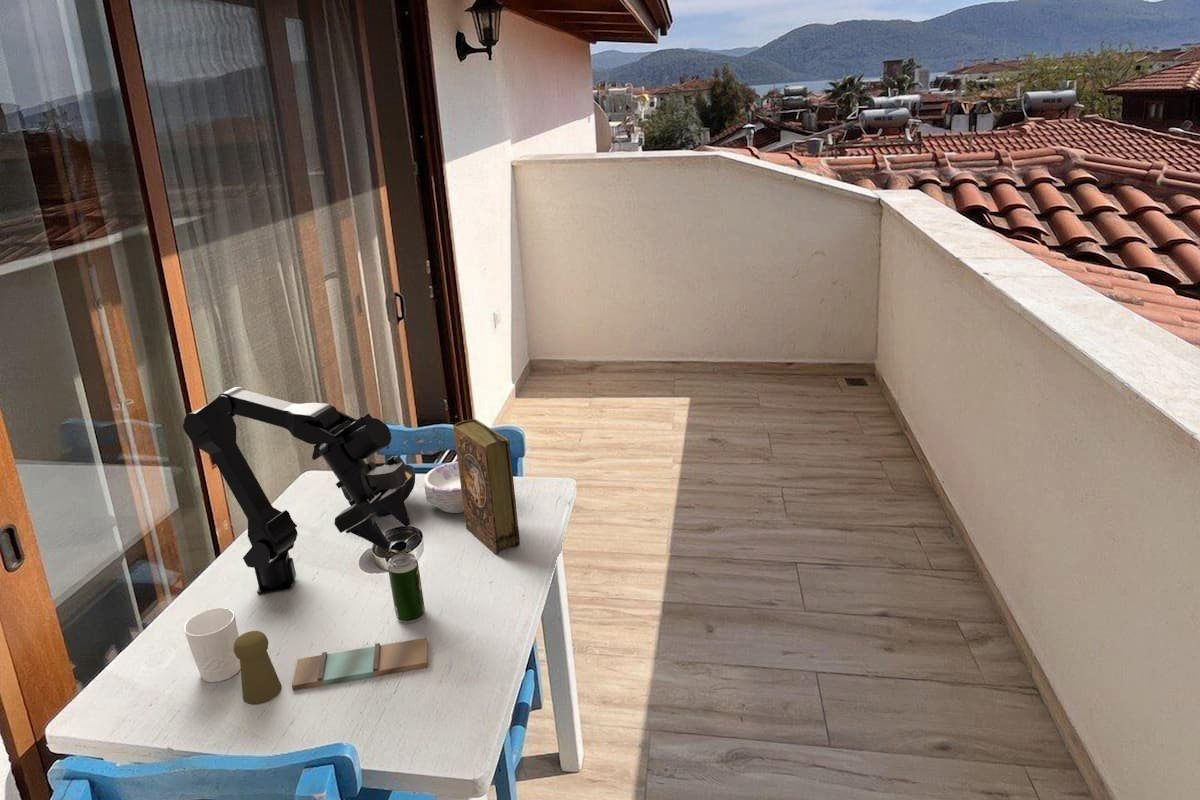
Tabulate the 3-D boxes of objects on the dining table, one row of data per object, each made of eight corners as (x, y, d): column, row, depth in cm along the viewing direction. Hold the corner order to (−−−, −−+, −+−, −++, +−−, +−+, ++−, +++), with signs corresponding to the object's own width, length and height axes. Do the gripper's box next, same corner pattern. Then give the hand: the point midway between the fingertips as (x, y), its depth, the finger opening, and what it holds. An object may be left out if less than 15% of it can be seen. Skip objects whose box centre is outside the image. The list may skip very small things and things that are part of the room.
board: (293, 690, 135) (291, 683, 135) (298, 663, 142) (297, 656, 141) (427, 667, 139) (426, 659, 138) (427, 642, 145) (426, 635, 145)
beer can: (402, 628, 150) (393, 571, 146) (392, 614, 154) (382, 559, 150) (430, 617, 152) (421, 561, 148) (419, 604, 157) (410, 549, 152)
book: (463, 526, 184) (450, 424, 175) (485, 519, 187) (473, 417, 178) (497, 556, 171) (485, 447, 162) (520, 548, 174) (509, 440, 165)
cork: (244, 709, 131) (230, 653, 128) (241, 687, 137) (227, 632, 133) (284, 696, 134) (271, 640, 130) (279, 675, 139) (266, 621, 135)
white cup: (215, 691, 136) (202, 641, 133) (187, 676, 140) (173, 627, 137) (256, 663, 142) (244, 615, 139) (228, 650, 146) (216, 602, 143)
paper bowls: (435, 525, 185) (431, 494, 183) (421, 498, 199) (417, 469, 196) (500, 510, 191) (496, 479, 188) (482, 484, 204) (478, 455, 201)
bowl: (410, 525, 186) (404, 486, 183) (336, 528, 187) (328, 489, 183) (426, 491, 202) (421, 454, 199) (357, 494, 203) (351, 457, 199)
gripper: (358, 467, 138) (410, 542, 141) (404, 431, 156) (450, 497, 158) (311, 495, 142) (362, 567, 144) (361, 456, 159) (406, 521, 162)
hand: (398, 536), depth 152 cm, fingers open, 9 cm apart
